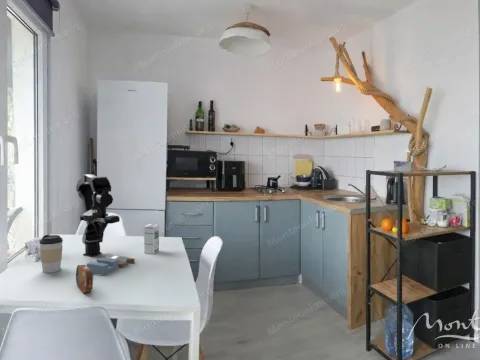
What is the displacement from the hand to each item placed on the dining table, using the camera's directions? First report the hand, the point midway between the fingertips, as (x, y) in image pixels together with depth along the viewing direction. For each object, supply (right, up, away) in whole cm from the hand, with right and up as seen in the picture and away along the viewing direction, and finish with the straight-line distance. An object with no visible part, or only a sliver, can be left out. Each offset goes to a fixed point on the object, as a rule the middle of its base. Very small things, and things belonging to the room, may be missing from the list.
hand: (99, 236), depth 162 cm
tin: (+8, -15, -33) cm, 37 cm away
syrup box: (+20, -12, +17) cm, 29 cm away
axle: (+9, -11, -3) cm, 15 cm away
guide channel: (+9, -13, -3) cm, 16 cm away
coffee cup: (-16, -13, -13) cm, 24 cm away
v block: (+6, -13, -13) cm, 19 cm away
